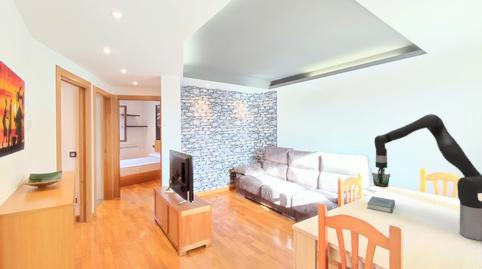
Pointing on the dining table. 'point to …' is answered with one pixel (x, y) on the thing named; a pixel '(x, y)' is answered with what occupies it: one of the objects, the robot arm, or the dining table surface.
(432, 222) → the dining table surface
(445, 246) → the dining table surface
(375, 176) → the food container
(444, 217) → the dining table surface
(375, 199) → the book
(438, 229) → the dining table surface
